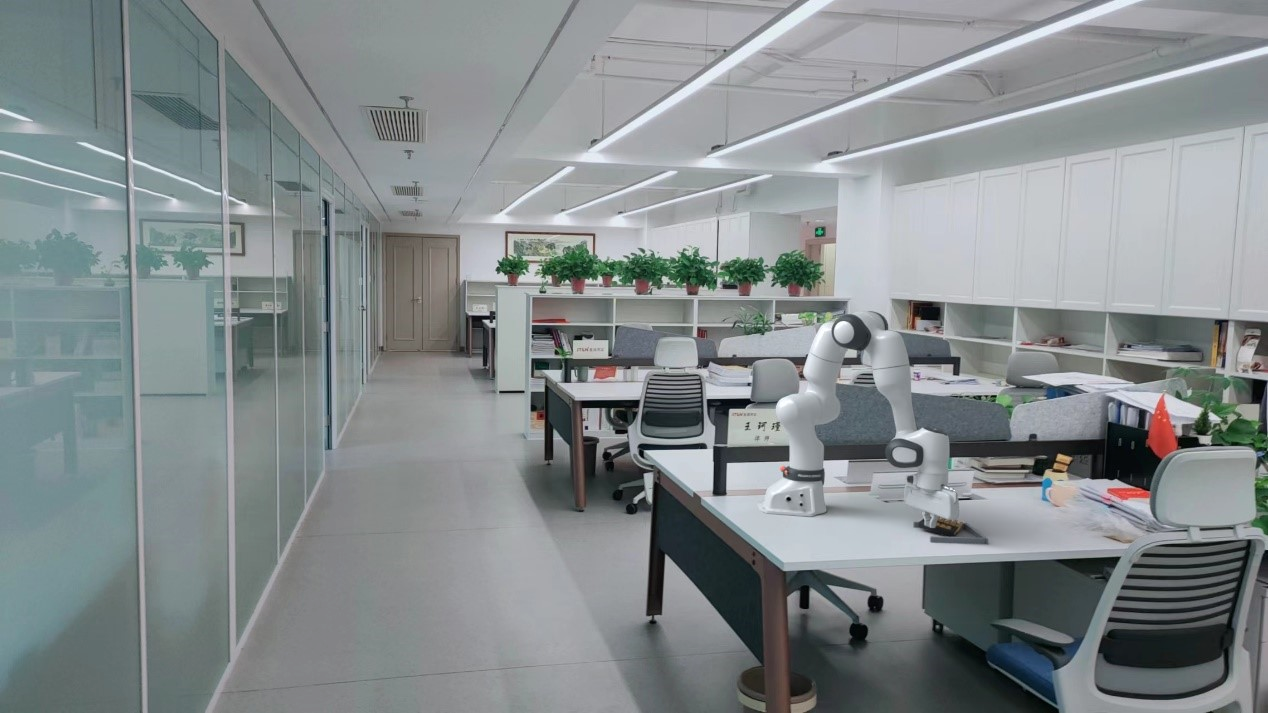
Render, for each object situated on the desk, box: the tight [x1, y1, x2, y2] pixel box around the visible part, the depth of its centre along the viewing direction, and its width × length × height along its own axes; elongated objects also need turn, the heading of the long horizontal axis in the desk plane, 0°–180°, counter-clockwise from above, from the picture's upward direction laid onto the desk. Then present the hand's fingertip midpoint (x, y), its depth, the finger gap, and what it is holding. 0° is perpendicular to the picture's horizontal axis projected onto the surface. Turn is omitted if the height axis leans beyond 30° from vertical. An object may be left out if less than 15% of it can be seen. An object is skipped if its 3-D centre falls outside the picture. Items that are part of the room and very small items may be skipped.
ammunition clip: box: [918, 514, 964, 537], centre depth 264 cm, size 11×2×12 cm
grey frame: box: [912, 521, 989, 545], centre depth 259 cm, size 16×17×2 cm
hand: (929, 526), depth 259 cm, fingers closed
